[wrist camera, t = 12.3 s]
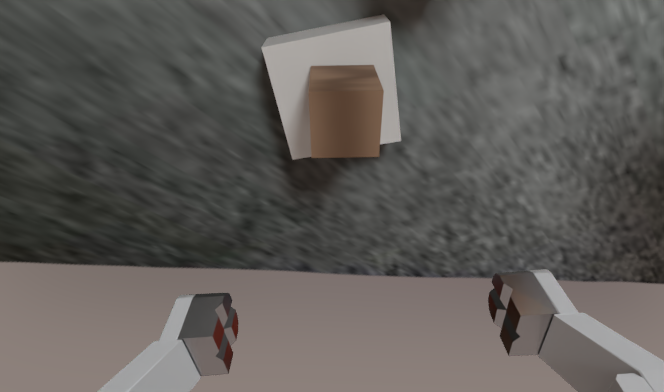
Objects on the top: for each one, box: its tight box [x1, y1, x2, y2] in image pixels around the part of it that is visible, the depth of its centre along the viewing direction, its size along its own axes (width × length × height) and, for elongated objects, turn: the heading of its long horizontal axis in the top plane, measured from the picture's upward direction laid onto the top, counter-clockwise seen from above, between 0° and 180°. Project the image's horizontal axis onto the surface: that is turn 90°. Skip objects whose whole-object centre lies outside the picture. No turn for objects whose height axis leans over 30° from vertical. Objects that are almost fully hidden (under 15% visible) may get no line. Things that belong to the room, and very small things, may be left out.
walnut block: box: [309, 65, 384, 158], centre depth 29 cm, size 5×5×6 cm
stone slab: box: [262, 14, 401, 160], centre depth 33 cm, size 10×10×4 cm
